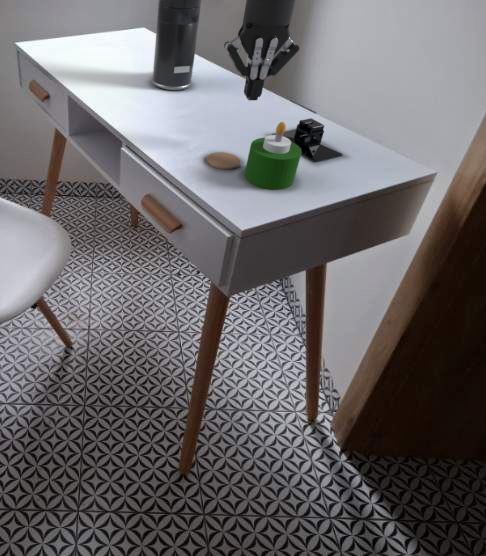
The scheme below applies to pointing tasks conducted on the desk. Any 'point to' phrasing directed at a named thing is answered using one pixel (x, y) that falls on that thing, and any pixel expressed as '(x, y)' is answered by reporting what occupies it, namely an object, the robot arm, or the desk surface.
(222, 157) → the coaster
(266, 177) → the candle
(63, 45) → the desk surface
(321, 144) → the build plate
